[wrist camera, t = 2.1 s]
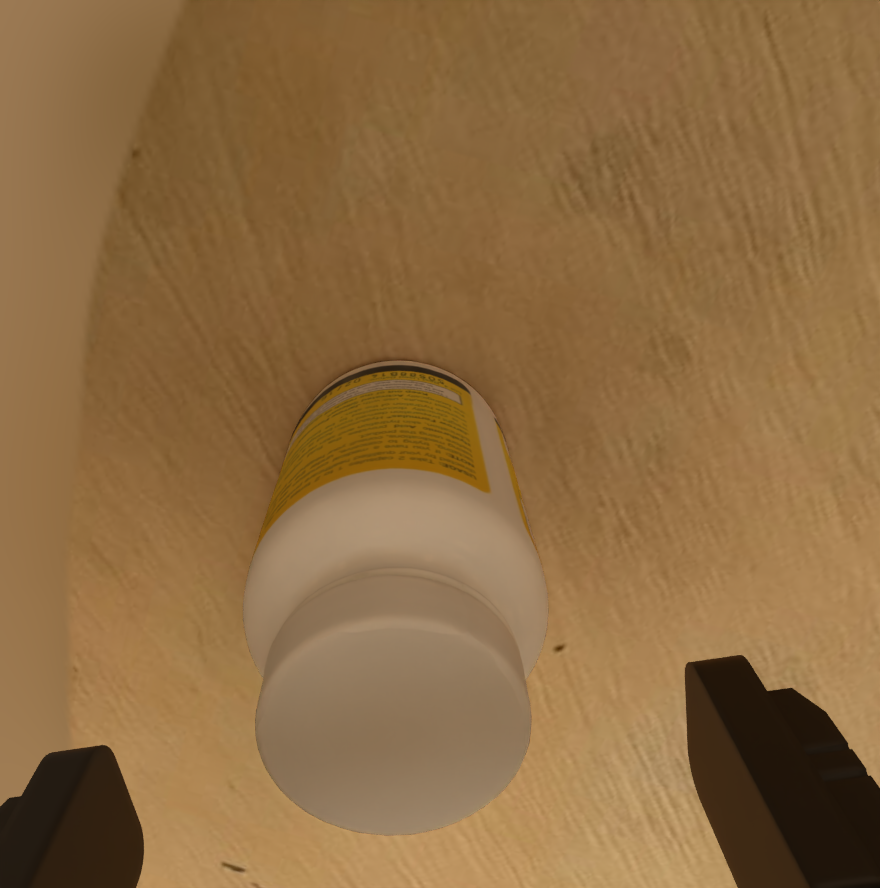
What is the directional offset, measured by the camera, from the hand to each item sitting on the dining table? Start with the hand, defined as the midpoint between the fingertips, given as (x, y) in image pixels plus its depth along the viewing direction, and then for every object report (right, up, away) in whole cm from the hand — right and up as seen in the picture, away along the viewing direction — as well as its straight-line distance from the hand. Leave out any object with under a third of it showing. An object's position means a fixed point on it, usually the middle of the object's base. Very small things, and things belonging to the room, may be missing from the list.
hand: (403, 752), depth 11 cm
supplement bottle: (-1, +4, +10) cm, 10 cm away
